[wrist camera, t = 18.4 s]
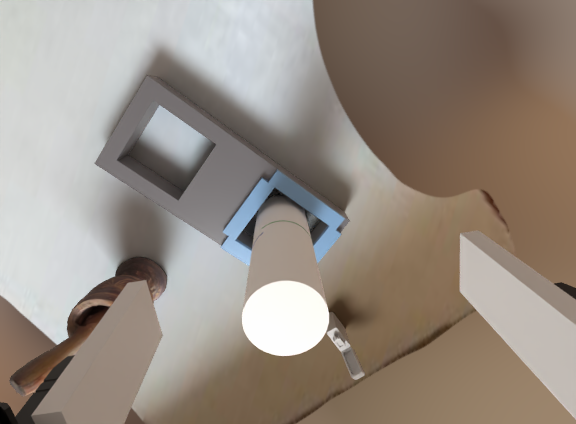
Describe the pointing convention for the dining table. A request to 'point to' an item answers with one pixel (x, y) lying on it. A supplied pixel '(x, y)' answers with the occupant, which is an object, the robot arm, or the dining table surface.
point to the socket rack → (213, 176)
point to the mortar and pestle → (89, 319)
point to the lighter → (344, 346)
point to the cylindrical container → (283, 282)
